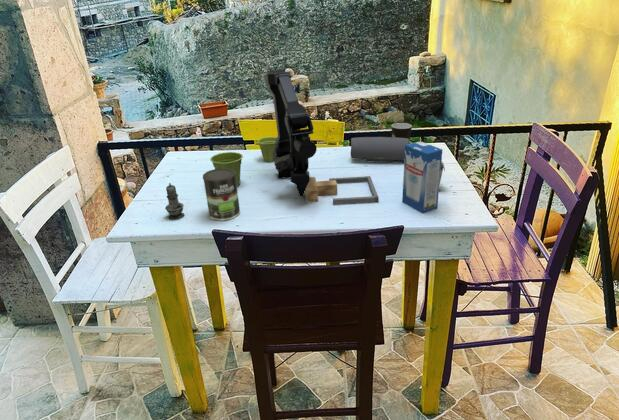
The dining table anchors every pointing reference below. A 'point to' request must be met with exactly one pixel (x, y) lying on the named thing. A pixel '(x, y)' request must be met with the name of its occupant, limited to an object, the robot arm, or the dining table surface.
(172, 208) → the grey tall tiered piece
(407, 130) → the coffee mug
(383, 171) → the dining table surface
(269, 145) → the plant pot
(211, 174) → the coffee can
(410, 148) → the milk carton
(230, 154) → the plant pot
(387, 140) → the bluetooth speaker
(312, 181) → the t block
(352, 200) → the fence pocket
